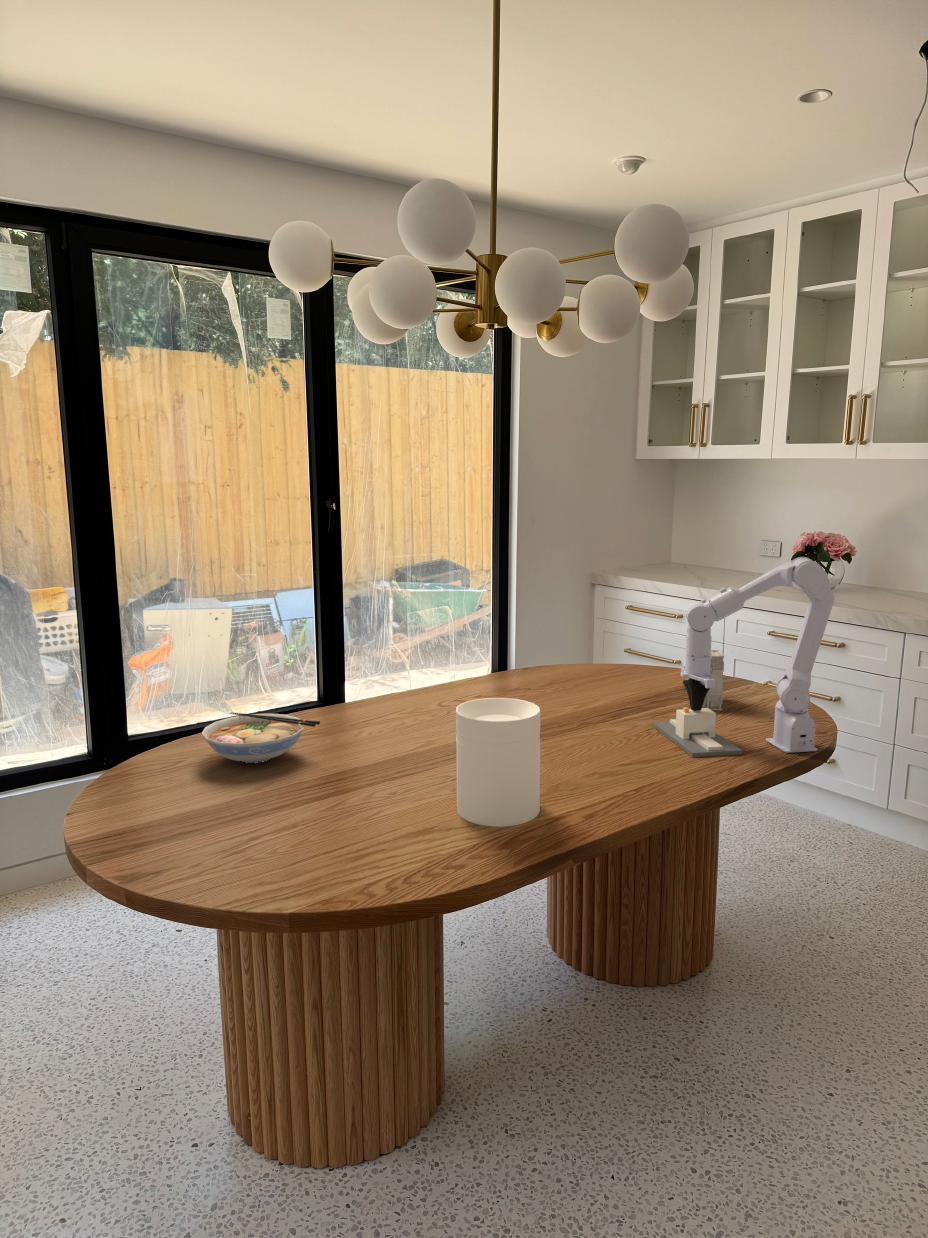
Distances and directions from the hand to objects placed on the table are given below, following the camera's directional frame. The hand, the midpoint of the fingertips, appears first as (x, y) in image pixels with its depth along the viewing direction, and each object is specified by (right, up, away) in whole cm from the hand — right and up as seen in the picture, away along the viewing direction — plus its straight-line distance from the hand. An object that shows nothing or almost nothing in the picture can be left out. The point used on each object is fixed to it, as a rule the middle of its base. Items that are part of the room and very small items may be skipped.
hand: (696, 710), depth 197 cm
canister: (-49, -15, -39) cm, 65 cm away
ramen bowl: (-104, -10, -9) cm, 104 cm away
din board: (0, -7, +1) cm, 7 cm away
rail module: (0, -6, +1) cm, 6 cm away
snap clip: (0, -6, +1) cm, 6 cm away
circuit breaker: (+11, -2, +33) cm, 35 cm away
